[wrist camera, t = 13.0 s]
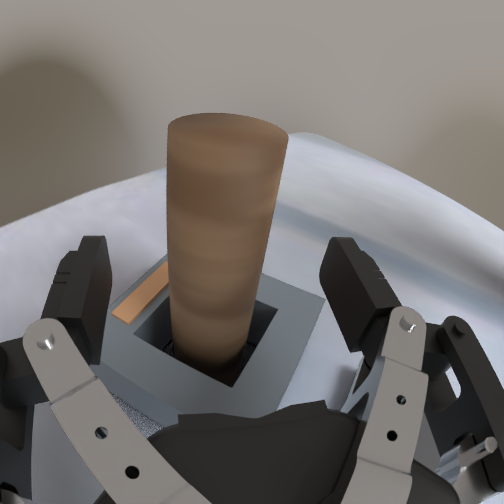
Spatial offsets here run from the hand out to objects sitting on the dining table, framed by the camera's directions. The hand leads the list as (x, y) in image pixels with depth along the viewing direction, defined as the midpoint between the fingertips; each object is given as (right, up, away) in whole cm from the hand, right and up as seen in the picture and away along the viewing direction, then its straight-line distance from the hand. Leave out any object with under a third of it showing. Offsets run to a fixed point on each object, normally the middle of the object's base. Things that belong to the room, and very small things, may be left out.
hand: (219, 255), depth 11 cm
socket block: (-2, -7, +8) cm, 10 cm away
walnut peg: (-2, -7, +8) cm, 10 cm away
